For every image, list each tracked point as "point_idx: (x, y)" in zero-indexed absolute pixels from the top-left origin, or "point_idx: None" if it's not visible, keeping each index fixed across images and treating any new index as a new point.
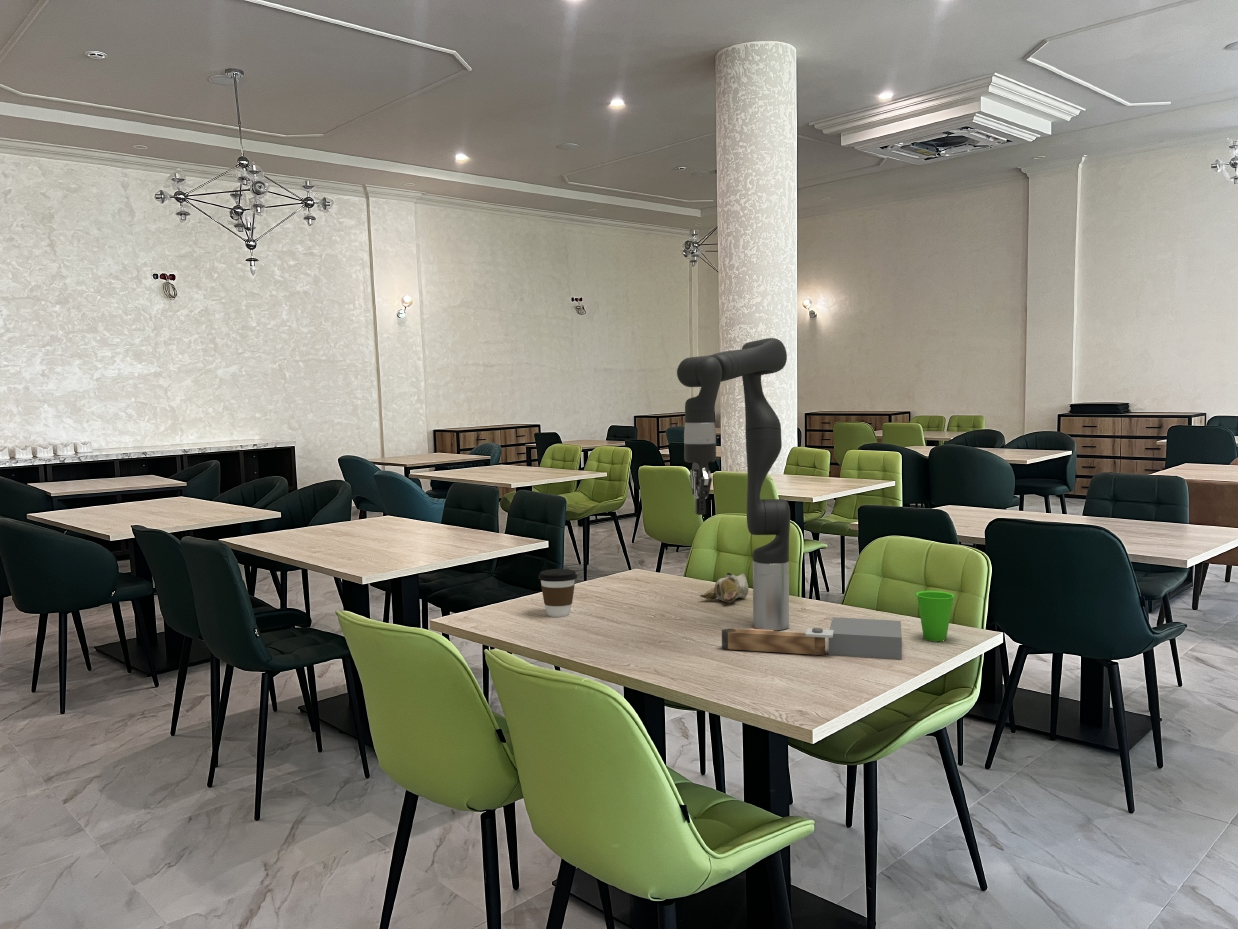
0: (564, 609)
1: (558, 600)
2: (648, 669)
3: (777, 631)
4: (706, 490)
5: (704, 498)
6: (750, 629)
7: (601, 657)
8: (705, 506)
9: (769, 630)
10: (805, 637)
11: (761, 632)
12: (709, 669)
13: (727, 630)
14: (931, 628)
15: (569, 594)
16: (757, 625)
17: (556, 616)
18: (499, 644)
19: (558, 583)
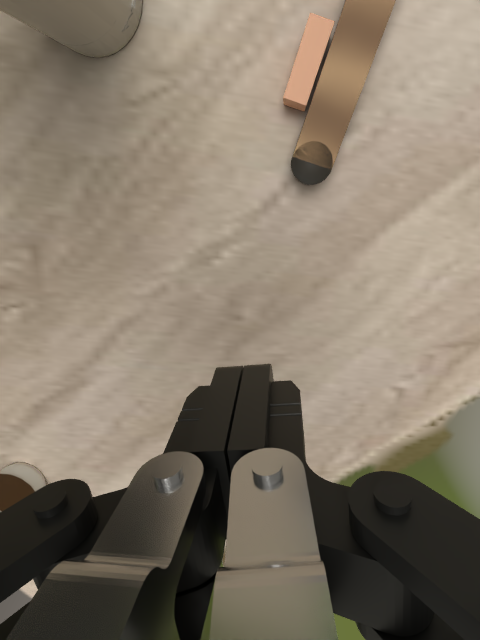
0: (34, 481)
1: None
2: (439, 358)
3: (345, 3)
4: (431, 590)
5: (318, 483)
6: (294, 92)
7: (338, 430)
8: (268, 400)
9: (314, 29)
10: None
11: (349, 63)
12: (474, 236)
13: (311, 168)
14: None
15: (11, 496)
16: (118, 45)
17: (45, 484)
18: None
19: None
